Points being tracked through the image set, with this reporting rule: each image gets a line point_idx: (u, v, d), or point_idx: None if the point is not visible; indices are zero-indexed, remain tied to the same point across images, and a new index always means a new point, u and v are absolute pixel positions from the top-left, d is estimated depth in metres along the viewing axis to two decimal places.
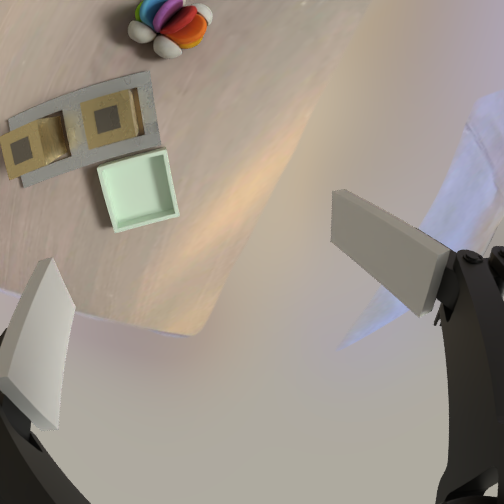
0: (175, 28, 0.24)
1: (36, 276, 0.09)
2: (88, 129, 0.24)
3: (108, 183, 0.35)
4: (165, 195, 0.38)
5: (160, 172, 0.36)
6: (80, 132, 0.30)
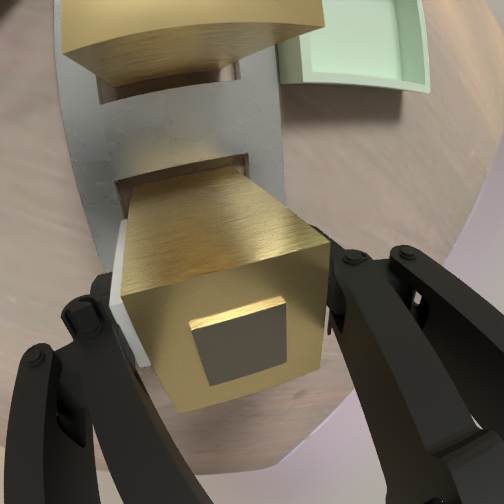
0: None
1: (125, 230, 0.12)
2: (224, 5, 0.04)
3: (329, 72, 0.13)
4: None
5: None
6: (188, 123, 0.12)
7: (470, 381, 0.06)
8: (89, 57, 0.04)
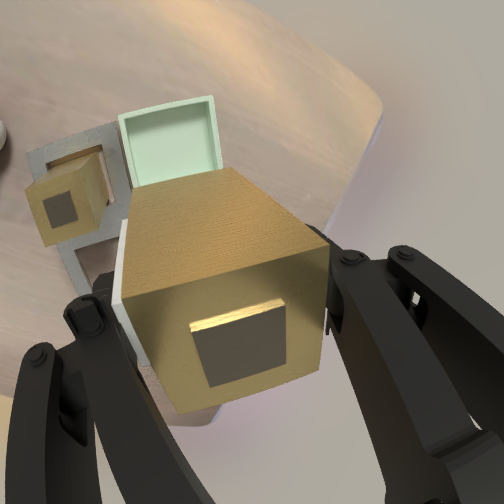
0: None
1: None
2: (73, 232, 0.20)
3: None
4: (184, 111, 0.26)
5: (152, 119, 0.26)
6: None
7: (469, 381, 0.06)
8: None
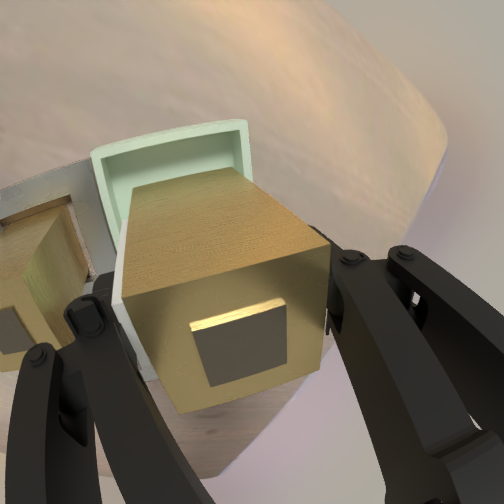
0: None
1: None
2: None
3: None
4: (199, 143, 0.17)
5: (147, 154, 0.17)
6: None
7: (469, 381, 0.06)
8: None
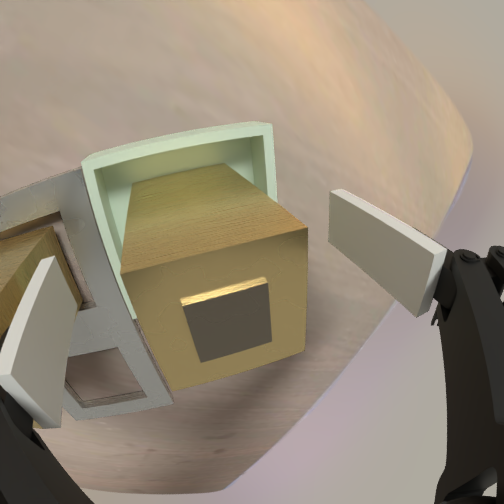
0: None
1: (38, 274, 0.09)
2: None
3: None
4: (212, 150, 0.15)
5: (151, 163, 0.14)
6: (73, 335, 0.16)
7: None
8: None
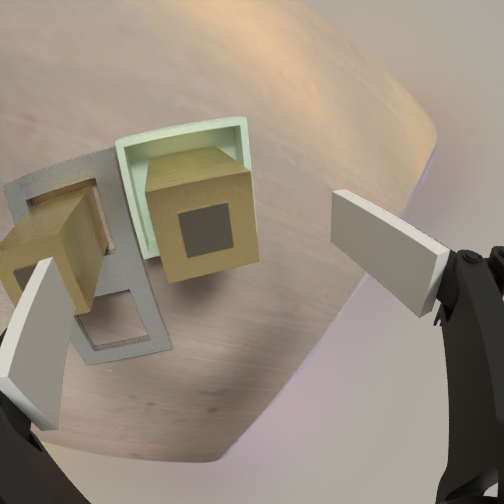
0: None
1: (36, 276, 0.09)
2: None
3: None
4: (206, 137, 0.21)
5: (162, 145, 0.20)
6: None
7: None
8: None
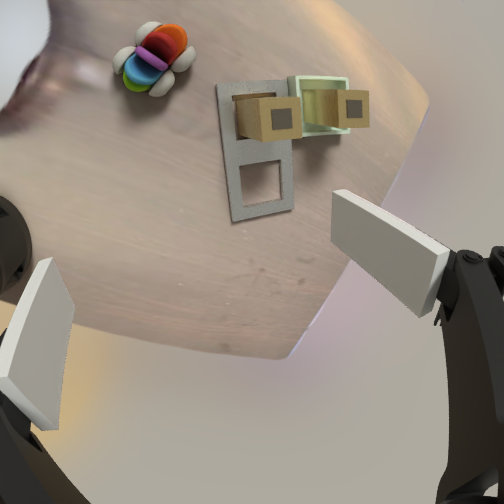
0: (175, 49, 0.26)
1: (36, 276, 0.09)
2: (286, 136, 0.32)
3: (309, 130, 0.41)
4: (327, 84, 0.38)
5: (308, 84, 0.38)
6: (263, 149, 0.40)
7: None
8: None
